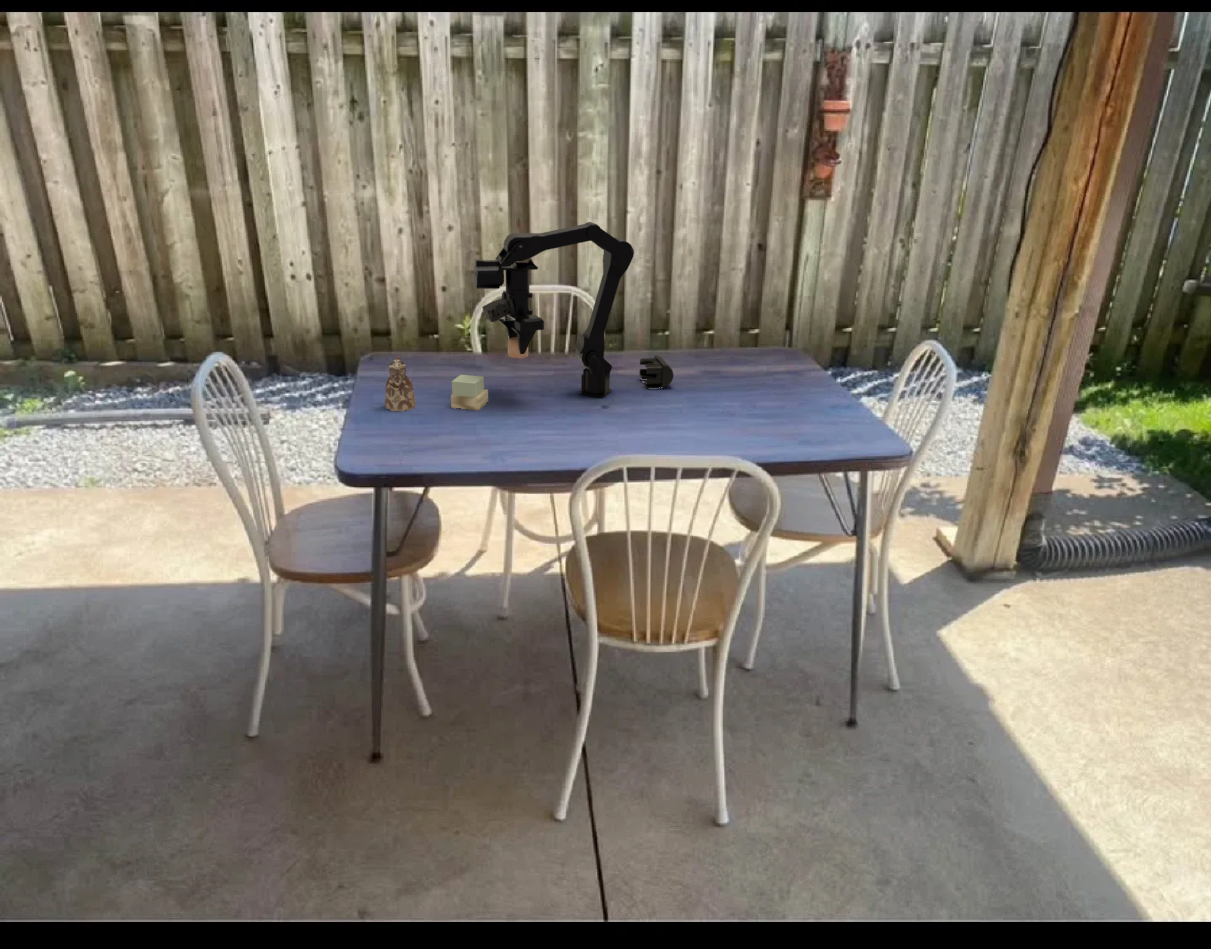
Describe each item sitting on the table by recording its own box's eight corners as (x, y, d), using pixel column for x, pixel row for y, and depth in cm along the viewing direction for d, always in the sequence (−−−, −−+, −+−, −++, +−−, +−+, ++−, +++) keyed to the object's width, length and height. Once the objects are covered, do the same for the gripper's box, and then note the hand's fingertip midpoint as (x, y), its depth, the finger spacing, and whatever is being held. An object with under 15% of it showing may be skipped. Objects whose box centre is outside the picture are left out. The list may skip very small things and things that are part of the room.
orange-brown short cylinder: (531, 354, 218) (531, 338, 216) (522, 359, 214) (522, 343, 212) (513, 351, 220) (513, 336, 218) (504, 356, 215) (504, 340, 214)
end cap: (672, 389, 232) (674, 364, 229) (646, 390, 230) (648, 365, 228) (664, 378, 241) (665, 354, 238) (638, 379, 239) (639, 355, 237)
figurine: (382, 411, 209) (378, 362, 205) (389, 401, 216) (386, 354, 211) (411, 412, 209) (408, 363, 205) (418, 402, 216) (415, 355, 211)
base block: (488, 403, 218) (488, 389, 217) (478, 411, 212) (478, 398, 210) (461, 400, 219) (461, 387, 218) (451, 409, 213) (450, 395, 212)
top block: (484, 390, 216) (483, 376, 215) (475, 397, 211) (475, 383, 209) (461, 388, 217) (460, 374, 216) (452, 395, 212) (451, 381, 210)
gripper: (472, 283, 214) (474, 345, 220) (500, 297, 199) (501, 364, 205) (514, 280, 219) (515, 341, 225) (545, 294, 204) (544, 359, 210)
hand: (518, 351), depth 216 cm, fingers closed on orange-brown short cylinder, 5 cm apart
